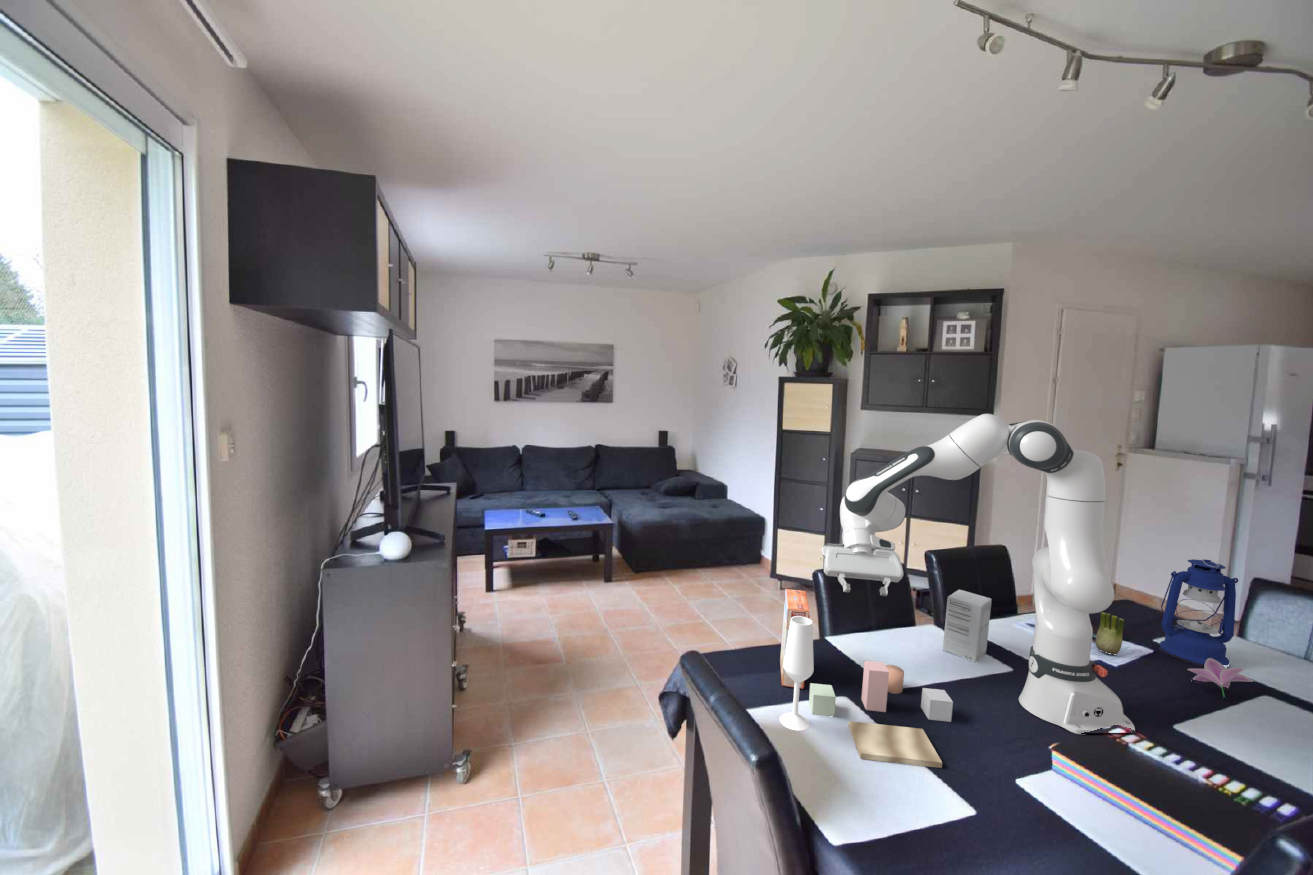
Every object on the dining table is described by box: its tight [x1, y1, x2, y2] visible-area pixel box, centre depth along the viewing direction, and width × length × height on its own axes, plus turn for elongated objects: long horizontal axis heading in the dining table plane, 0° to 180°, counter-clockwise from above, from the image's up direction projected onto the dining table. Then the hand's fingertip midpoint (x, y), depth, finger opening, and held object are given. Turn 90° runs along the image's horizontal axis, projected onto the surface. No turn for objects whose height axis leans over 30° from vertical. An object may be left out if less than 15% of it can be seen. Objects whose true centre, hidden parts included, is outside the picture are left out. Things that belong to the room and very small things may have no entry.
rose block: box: [860, 660, 889, 713], centre depth 132 cm, size 4×4×10 cm
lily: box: [1186, 658, 1255, 698], centre depth 144 cm, size 12×12×10 cm
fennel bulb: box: [1095, 611, 1126, 655], centre depth 164 cm, size 6×5×12 cm
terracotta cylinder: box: [885, 664, 905, 695], centre depth 140 cm, size 5×5×5 cm
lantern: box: [1159, 559, 1239, 665], centre depth 163 cm, size 17×15×30 cm
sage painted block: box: [808, 682, 837, 718], centre depth 129 cm, size 5×5×5 cm
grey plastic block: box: [920, 687, 954, 723], centre depth 129 cm, size 5×5×5 cm
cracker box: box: [779, 588, 811, 690], centre depth 144 cm, size 14×6×21 cm, turn 168°
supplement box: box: [942, 589, 992, 663], centre depth 161 cm, size 10×9×17 cm
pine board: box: [847, 720, 943, 769], centre depth 117 cm, size 16×11×1 cm
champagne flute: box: [779, 616, 815, 732], centre depth 123 cm, size 7×7×24 cm
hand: (865, 593), depth 143 cm, fingers open, 8 cm apart
